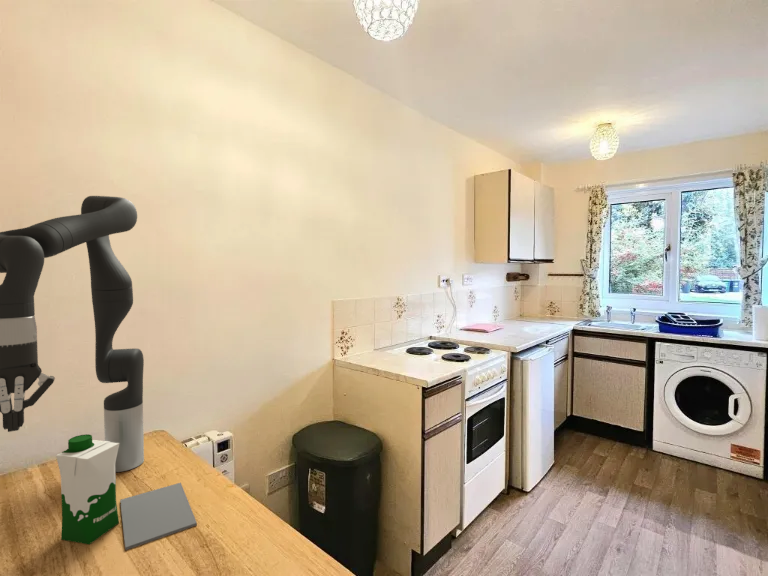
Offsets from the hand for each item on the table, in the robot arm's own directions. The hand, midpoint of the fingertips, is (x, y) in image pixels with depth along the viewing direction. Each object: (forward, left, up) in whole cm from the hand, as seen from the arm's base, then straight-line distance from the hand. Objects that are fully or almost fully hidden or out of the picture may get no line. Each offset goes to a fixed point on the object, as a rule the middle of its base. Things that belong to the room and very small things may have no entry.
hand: (13, 429), depth 75 cm
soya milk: (0, +11, -25) cm, 27 cm away
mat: (+1, +23, -25) cm, 34 cm away
